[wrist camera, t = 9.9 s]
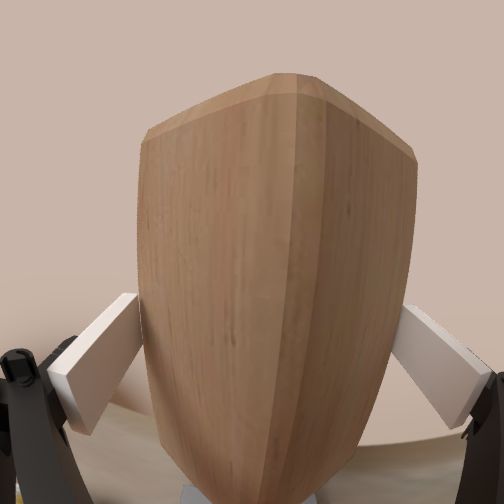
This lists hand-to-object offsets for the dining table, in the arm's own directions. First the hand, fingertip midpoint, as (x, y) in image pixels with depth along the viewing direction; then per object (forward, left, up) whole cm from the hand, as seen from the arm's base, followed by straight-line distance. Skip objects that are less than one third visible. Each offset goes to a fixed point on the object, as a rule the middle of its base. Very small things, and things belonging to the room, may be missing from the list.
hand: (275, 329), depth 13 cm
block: (0, 0, -11) cm, 11 cm away
